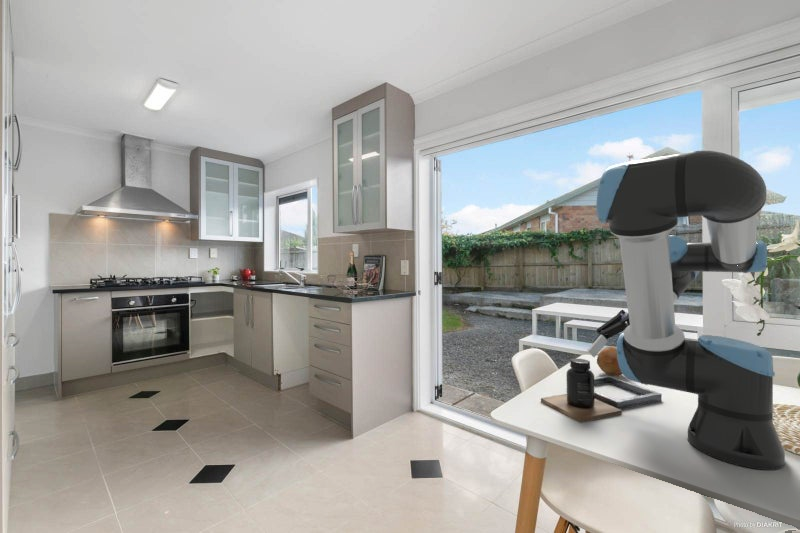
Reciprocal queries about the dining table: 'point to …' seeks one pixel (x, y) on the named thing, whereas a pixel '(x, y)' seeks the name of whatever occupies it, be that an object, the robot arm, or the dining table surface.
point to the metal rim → (646, 394)
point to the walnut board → (581, 409)
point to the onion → (609, 361)
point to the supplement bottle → (580, 384)
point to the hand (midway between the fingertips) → (605, 360)
